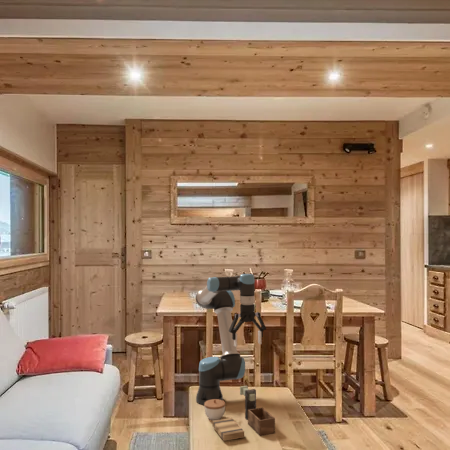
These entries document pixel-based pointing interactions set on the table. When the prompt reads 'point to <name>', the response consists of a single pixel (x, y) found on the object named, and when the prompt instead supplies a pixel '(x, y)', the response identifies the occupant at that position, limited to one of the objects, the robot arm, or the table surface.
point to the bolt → (250, 395)
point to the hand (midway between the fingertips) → (247, 344)
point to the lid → (228, 429)
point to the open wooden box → (261, 421)
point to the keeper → (249, 402)
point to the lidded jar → (214, 409)
